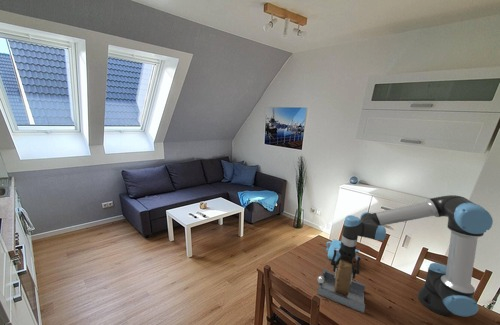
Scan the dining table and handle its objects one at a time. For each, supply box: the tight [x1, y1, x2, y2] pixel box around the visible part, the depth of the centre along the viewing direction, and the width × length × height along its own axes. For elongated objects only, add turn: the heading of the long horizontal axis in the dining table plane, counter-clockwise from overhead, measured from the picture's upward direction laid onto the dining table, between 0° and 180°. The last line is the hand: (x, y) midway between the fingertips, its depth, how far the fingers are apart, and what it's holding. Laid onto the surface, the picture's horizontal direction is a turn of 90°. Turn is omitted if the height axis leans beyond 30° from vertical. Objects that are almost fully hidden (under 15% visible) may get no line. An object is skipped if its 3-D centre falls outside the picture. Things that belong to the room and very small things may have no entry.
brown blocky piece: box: [335, 259, 353, 296], centre depth 120 cm, size 11×8×20 cm
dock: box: [317, 267, 366, 314], centre depth 121 cm, size 25×17×10 cm
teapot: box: [326, 239, 361, 262], centre depth 151 cm, size 18×16×14 cm
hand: (342, 279), depth 120 cm, fingers closed on brown blocky piece, 7 cm apart
